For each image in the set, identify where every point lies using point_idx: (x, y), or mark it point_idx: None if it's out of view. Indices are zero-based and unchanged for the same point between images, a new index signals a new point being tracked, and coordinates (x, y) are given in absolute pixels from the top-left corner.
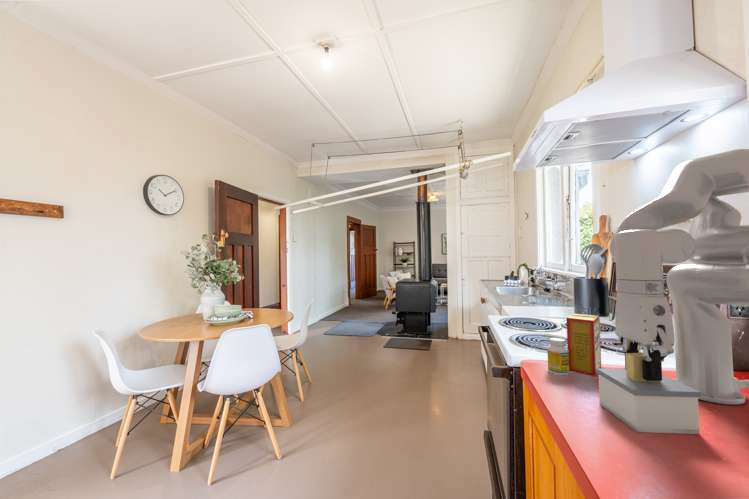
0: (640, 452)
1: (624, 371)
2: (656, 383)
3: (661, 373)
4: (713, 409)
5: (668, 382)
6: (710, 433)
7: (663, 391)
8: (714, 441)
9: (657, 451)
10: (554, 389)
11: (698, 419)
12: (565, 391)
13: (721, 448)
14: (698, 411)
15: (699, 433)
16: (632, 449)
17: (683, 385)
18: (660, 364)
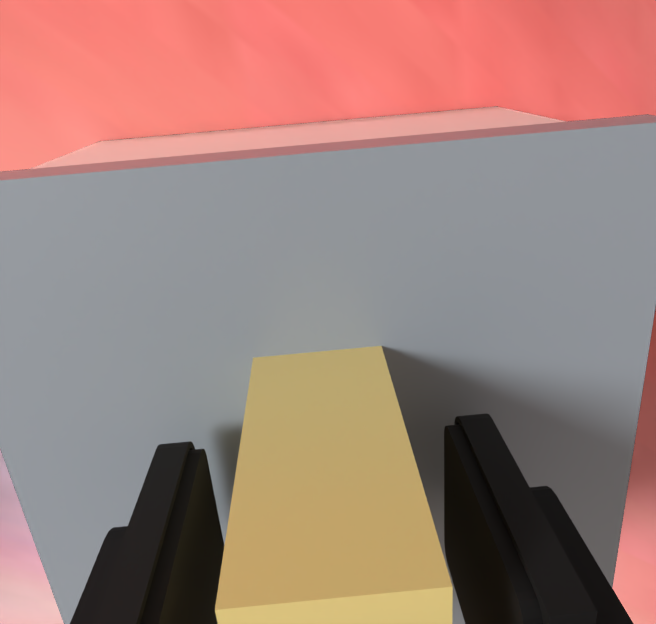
0: (650, 506)
1: (114, 523)
2: (443, 418)
3: (513, 463)
4: None
5: (408, 284)
6: (480, 15)
7: (630, 468)
8: (573, 78)
9: (648, 440)
10: (12, 614)
11: (531, 115)
12: (23, 570)
13: (644, 103)
14: (559, 120)
15: (497, 106)
16: (627, 523)
17: (493, 175)
18: (561, 566)
